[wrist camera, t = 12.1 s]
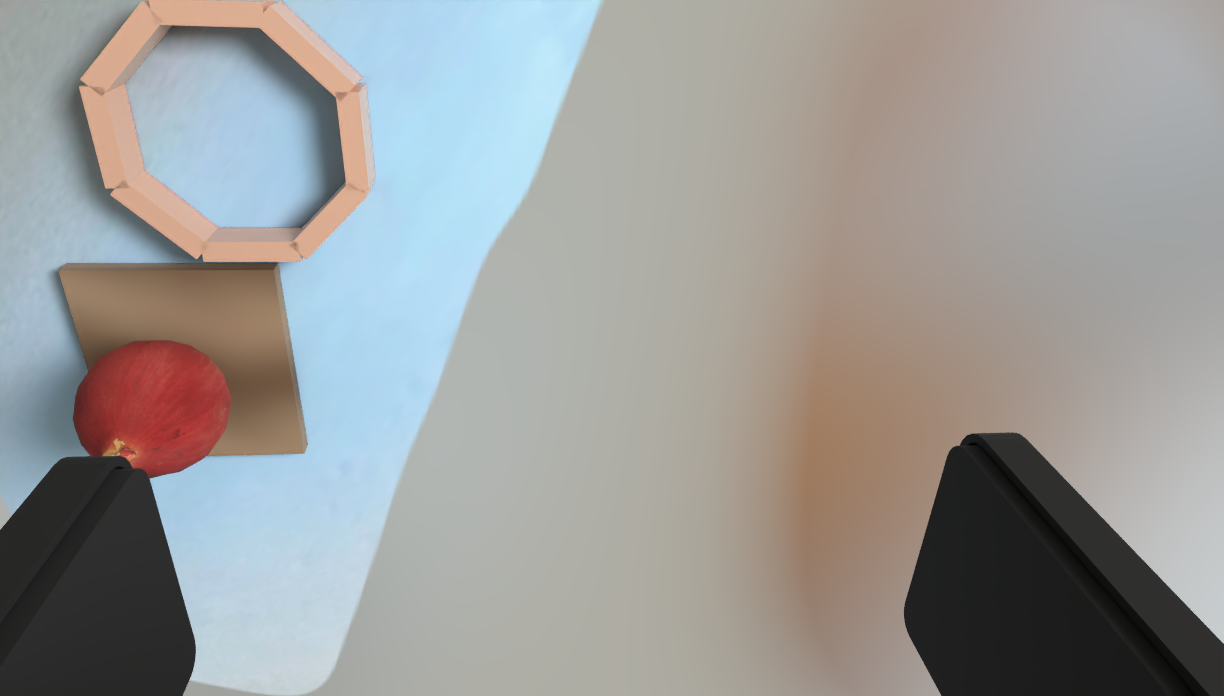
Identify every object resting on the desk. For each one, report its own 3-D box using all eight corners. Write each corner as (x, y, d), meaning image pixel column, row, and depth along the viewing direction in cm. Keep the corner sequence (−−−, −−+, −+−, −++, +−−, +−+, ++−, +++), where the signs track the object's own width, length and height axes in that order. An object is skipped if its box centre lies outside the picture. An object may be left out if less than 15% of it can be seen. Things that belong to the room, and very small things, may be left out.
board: (66, 263, 36) (57, 270, 35) (278, 263, 37) (273, 270, 36) (121, 448, 41) (115, 458, 40) (307, 444, 42) (304, 453, 41)
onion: (241, 429, 40) (182, 539, 33) (114, 401, 39) (24, 510, 32) (260, 328, 38) (201, 424, 31) (125, 294, 36) (31, 387, 29)
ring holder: (78, -9, 31) (55, -5, 30) (358, 0, 32) (349, 5, 31) (141, 246, 36) (124, 261, 34) (382, 246, 37) (376, 261, 36)
